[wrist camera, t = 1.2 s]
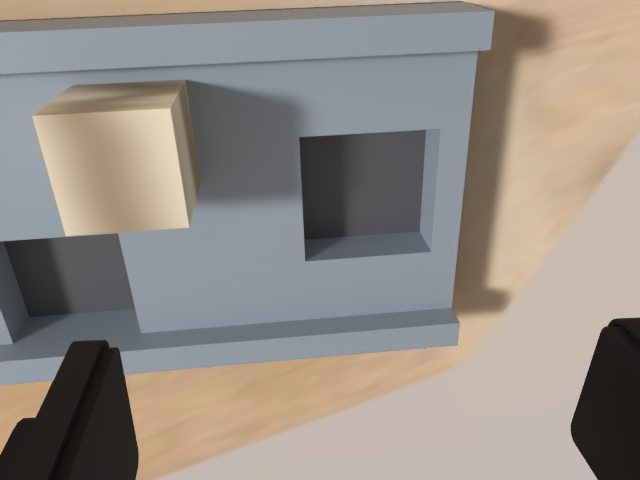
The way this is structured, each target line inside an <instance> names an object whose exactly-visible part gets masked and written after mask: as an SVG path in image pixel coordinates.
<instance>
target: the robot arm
mask: <svg viewBox="0 0 640 480" xmlns="http://www.w3.org/2000/svg"><path fill="white" fill-rule="evenodd" d="M571 435H572V438H573V441H574V443H575V444H576V446H577V447H578V449H579V451H580V452H581V454H582V455H583V457H584V458H585V460H586V462H587V463H588V465H589V466H590V468H591V470H592V471H593V473H594V474H595V476H596V477H597V479H598V480H640V318H620V319H613V320H612V321H611V322H610V323H609V325H608V326H607V327H604V328H603V329H602V331H601V333H600V336H599V339H598V342H597V345H596V348H595V351H594V355H593V358H592V361H591V364H590V367H589V370H588V373H587V376H586V379H585V382H584V385H583V389H582V392H581V395H580V398H579V401H578V404H577V407H576V411H575V413H574V416H573V419H572V423H571ZM138 458H139V457H138V447H137V441H136V436H135V430H134V425H133V420H132V414H131V409H130V403H129V398H128V392H127V387H126V382H125V376H124V371H123V365H122V360H121V355H120V351H119V349H118V348H117V347H113V348H110V347H109V343H108V342H107V341H106V340H88V341H74V342H72V343H71V345H70V346H69V348H68V351H67V353H66V355H65V357H64V359H63V361H62V363H61V365H60V368H59V370H58V372H57V374H56V376H55V378H54V380H53V382H52V384H51V387H50V389H49V391H48V393H47V395H46V397H45V399H44V401H43V404H42V406H41V408H40V410H39V412H38V414H37V416H36V418H23V419H22V420H21V421H19V422H18V423H17V425H16V426H15V428H14V429H13V431H12V433H11V435H10V437H9V439H8V441H7V443H6V445H5V447H4V449H3V451H2V453H1V455H0V480H135V478H136V474H137V469H138Z"/></svg>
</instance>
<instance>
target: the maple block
mask: <svg viewBox="0 0 640 480" xmlns="http://www.w3.org/2000/svg"><path fill="white" fill-rule="evenodd" d="M32 118H33V121H34V125H35V128H36V132H37V136H38V139H39V143H40V146H41V150H42V153H43V157H44V160H45V164H46V168H47V171H48V175H49V178H50V182H51V185H52V189H53V192H54V196H55V200H56V203H57V207H58V210H59V214H60V217H61V221H62V224H63V228H64V232H65V235H66V236H76V235H90V234H105V233H119V232H134V231H148V230H163V229H177V228H189V227H190V223H191V218H192V214H193V210H194V206H195V202H196V198H197V194H198V190H199V186H200V176H199V169H198V162H197V154H196V147H195V140H194V133H193V126H192V119H191V112H190V105H189V98H188V91H187V84H186V80H166V81H146V82H126V83H107V84H87V85H72V86H71V87H69V88H68V89H67V90H65V91H64V92H63V93H61V94H60V95H59V96H58V97H56V98H55V99H54V100H52V101H51V102H50V103H48V104H47V105H46V106H44V107H43V108H42V109H40V110H39V111H38V112H36V113H35V114H34V115H32Z"/></svg>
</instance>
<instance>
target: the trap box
mask: <svg viewBox="0 0 640 480" xmlns="http://www.w3.org/2000/svg"><path fill="white" fill-rule="evenodd" d="M494 15H495V11H493V10H490V9H486V8H483V7H479V6H476V5H472V4H469V3H465V2H462V1H455V2H431V3H408V4H384V5H360V6H336V7H313V8H289V9H265V10H241V11H217V12H194V13H170V14H146V15H122V16H99V17H75V18H51V19H27V20H4V21H0V385H9V384H20V383H32V382H43V381H53V380H54V378H55V376H56V374H57V372H58V370H59V368H60V365H61V363H62V361H63V359H64V357H65V355H66V353H67V351H68V348H69V346H70V345H71V343H72V342H74V341H88V340H106V341H107V342H108V343H109V347H110V348H113V347H117V348H118V349H119V351H120V355H121V360H122V365H123V371H124V374H135V373H146V372H158V371H169V370H181V369H192V368H204V367H215V366H226V365H238V364H249V363H261V362H272V361H284V360H295V359H307V358H318V357H330V356H341V355H352V354H364V353H375V352H387V351H398V350H410V349H421V348H433V347H444V346H456V345H457V344H458V335H459V327H460V322H459V320H458V319H457V317H456V315H455V313H454V311H453V309H452V301H453V291H454V281H455V271H456V261H457V252H458V242H459V232H460V222H461V212H462V203H463V193H464V183H465V173H466V163H467V154H468V144H469V134H470V124H471V114H472V105H473V95H474V85H475V75H476V65H477V56H478V51H485V50H491V42H492V33H493V24H494ZM166 80H186V84H187V91H188V98H189V105H190V112H191V119H192V126H193V133H194V140H195V147H196V154H197V162H198V169H199V176H200V186H199V190H198V194H197V198H196V202H195V206H194V210H193V214H192V218H191V223H190V227H189V228H177V229H163V230H148V231H134V232H119V233H105V234H90V235H76V236H66V235H65V232H64V228H63V224H62V221H61V217H60V214H59V210H58V207H57V203H56V200H55V196H54V192H53V189H52V185H51V182H50V178H49V175H48V171H47V168H46V164H45V160H44V157H43V153H42V150H41V146H40V143H39V139H38V136H37V132H36V128H35V125H34V121H33V118H32V115H34V114H35V113H36V112H38V111H39V110H40V109H42V108H43V107H44V106H46V105H47V104H48V103H50V102H51V101H52V100H54V99H55V98H56V97H58V96H59V95H60V94H61V93H63V92H64V91H65V90H67V89H68V88H69V87H71V86H72V85H87V84H107V83H126V82H146V81H166Z"/></svg>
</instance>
